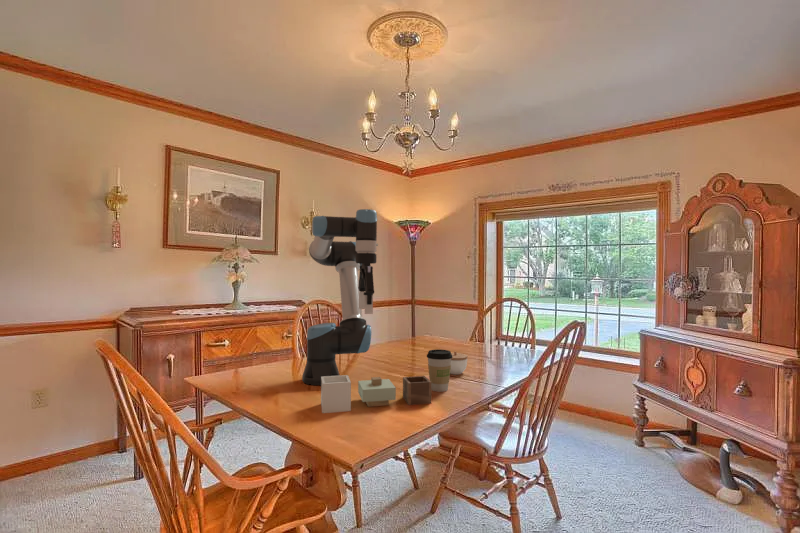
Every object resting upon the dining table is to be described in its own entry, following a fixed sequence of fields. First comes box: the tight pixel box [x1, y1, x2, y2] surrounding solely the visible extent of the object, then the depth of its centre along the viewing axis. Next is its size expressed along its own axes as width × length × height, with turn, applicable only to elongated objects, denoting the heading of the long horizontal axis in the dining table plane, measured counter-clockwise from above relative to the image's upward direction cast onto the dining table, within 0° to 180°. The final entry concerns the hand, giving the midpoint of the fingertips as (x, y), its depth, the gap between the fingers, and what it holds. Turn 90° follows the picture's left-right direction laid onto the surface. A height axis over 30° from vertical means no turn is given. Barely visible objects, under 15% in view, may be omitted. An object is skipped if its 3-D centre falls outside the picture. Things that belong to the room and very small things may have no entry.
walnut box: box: [402, 375, 432, 406], centre depth 143 cm, size 8×8×8 cm
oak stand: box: [365, 400, 390, 408], centre depth 141 cm, size 7×7×3 cm
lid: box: [357, 376, 397, 403], centre depth 141 cm, size 11×11×6 cm
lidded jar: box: [450, 351, 468, 375], centre depth 184 cm, size 11×11×9 cm
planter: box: [320, 374, 352, 414], centre depth 135 cm, size 9×9×10 cm
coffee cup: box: [426, 348, 452, 393], centre depth 156 cm, size 10×10×15 cm
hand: (365, 311), depth 150 cm, fingers open, 13 cm apart
